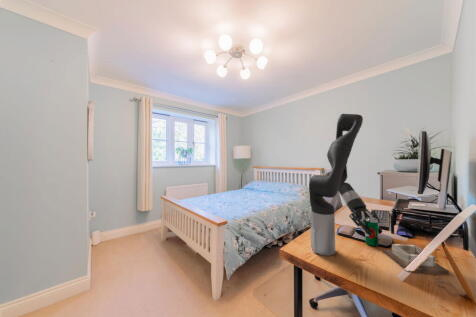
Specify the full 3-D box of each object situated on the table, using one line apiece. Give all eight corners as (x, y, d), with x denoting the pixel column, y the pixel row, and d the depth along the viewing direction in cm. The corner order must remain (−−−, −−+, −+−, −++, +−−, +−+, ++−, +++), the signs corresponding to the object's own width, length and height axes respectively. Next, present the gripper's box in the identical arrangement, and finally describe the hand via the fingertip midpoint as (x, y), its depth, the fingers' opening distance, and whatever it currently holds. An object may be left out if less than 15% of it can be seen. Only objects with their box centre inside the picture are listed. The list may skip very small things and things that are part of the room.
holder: (406, 271, 63) (406, 258, 63) (382, 252, 76) (382, 241, 76) (449, 274, 61) (449, 260, 61) (417, 254, 74) (417, 242, 74)
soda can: (381, 247, 80) (380, 220, 79) (368, 246, 81) (368, 220, 80) (374, 242, 84) (374, 217, 84) (363, 241, 86) (362, 216, 85)
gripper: (345, 198, 88) (367, 231, 77) (369, 196, 91) (394, 228, 79) (337, 205, 94) (357, 238, 82) (360, 204, 96) (382, 235, 85)
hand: (375, 233), depth 81 cm, fingers closed on soda can, 5 cm apart
